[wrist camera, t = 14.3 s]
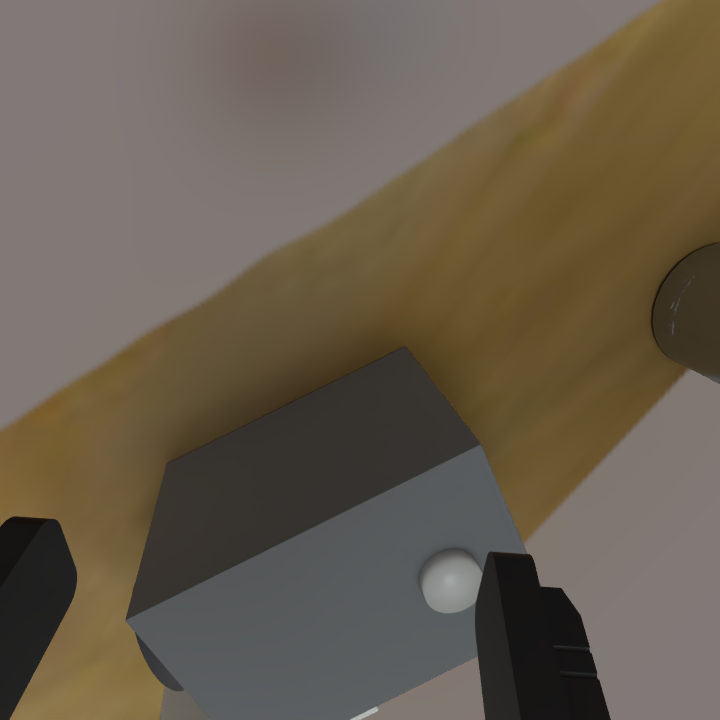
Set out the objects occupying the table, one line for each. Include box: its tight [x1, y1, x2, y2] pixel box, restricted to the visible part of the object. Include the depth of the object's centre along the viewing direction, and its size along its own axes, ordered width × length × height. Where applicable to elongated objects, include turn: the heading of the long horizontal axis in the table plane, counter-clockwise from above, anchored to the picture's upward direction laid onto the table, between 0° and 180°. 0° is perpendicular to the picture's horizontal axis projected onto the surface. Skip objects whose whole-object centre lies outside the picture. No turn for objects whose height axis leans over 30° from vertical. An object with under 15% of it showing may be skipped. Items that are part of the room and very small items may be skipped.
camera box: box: [125, 346, 541, 720], centre depth 35 cm, size 21×12×15 cm, turn 115°
